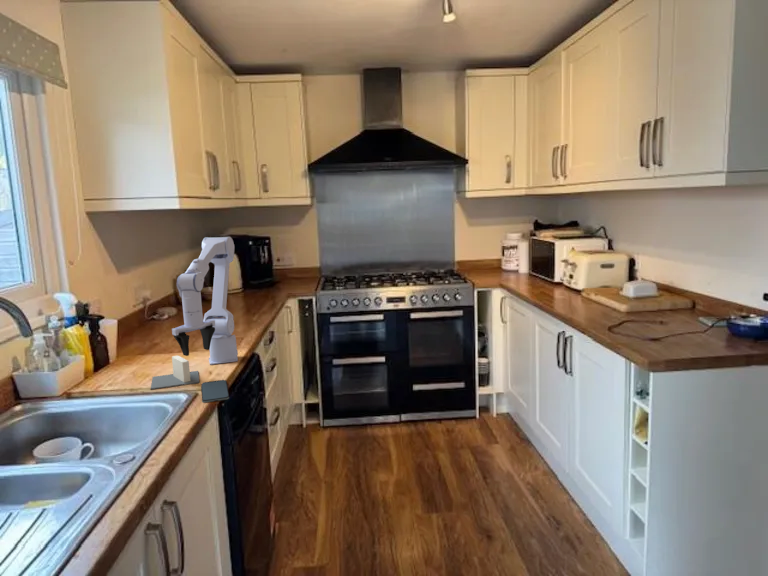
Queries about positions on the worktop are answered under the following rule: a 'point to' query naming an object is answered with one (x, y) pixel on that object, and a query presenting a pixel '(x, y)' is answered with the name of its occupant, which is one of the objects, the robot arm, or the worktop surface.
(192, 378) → the mat
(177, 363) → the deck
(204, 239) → the robot arm
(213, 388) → the smartphone
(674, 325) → the worktop surface
